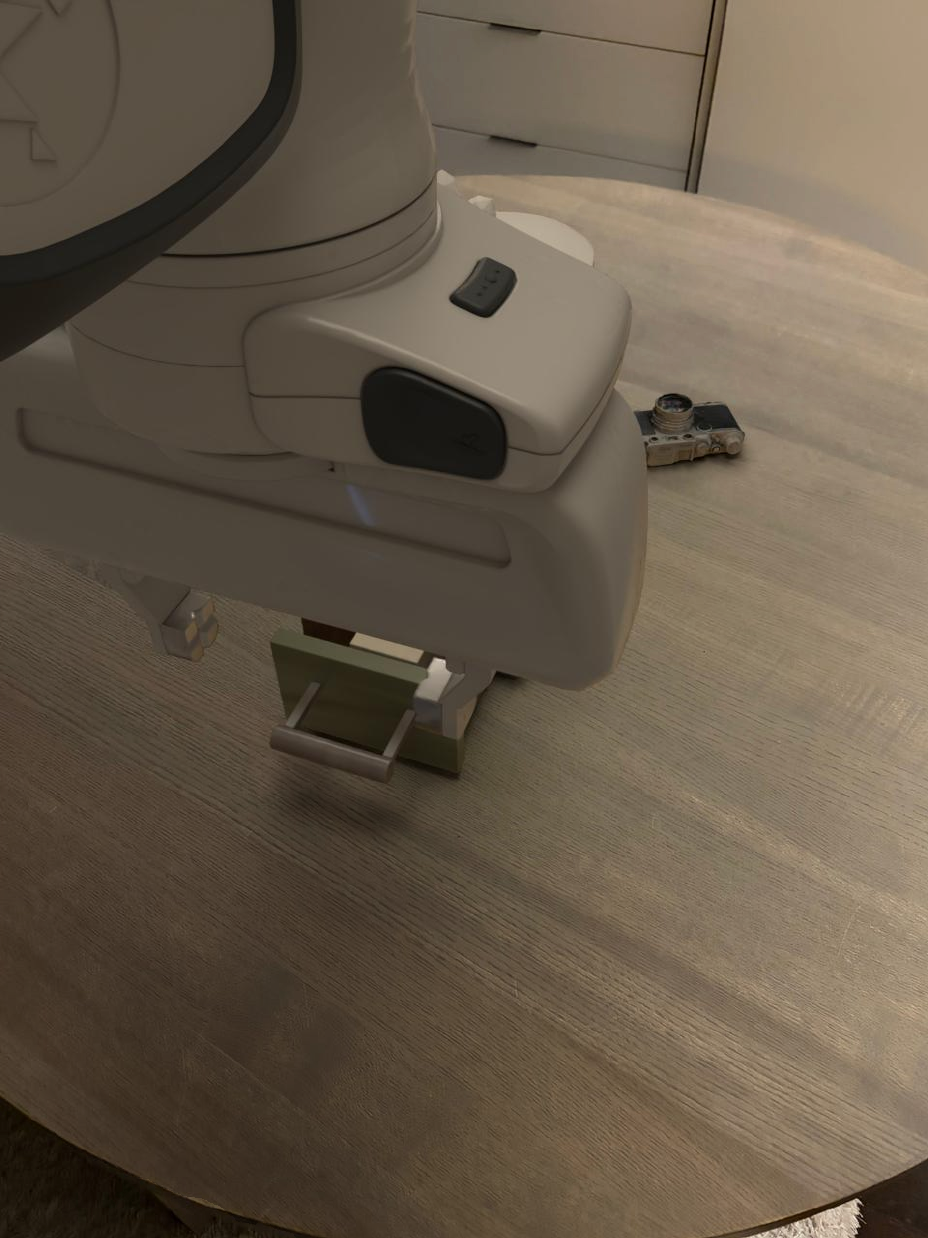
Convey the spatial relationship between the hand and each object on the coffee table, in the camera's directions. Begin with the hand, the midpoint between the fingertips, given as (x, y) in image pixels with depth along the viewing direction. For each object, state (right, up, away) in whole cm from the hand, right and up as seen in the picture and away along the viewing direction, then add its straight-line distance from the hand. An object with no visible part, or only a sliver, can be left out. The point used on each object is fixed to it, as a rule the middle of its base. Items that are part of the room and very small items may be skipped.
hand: (313, 681), depth 35 cm
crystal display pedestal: (+3, +27, +63) cm, 68 cm away
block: (+1, -2, +31) cm, 31 cm away
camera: (+23, +16, +51) cm, 58 cm away
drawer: (+1, -3, +31) cm, 32 cm away
